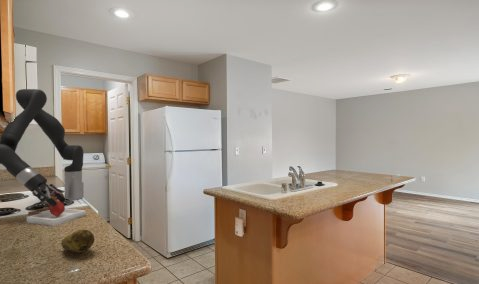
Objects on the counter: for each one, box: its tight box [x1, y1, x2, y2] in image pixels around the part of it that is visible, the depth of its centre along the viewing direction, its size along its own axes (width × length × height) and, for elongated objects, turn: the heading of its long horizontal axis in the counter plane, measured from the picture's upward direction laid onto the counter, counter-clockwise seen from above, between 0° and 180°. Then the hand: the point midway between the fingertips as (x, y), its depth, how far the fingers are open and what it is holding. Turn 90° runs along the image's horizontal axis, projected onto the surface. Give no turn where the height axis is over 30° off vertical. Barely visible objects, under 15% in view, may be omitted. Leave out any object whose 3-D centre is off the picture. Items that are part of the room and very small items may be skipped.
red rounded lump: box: [49, 200, 66, 217], centre depth 121 cm, size 6×6×8 cm
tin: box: [39, 191, 65, 205], centre depth 146 cm, size 15×3×8 cm, turn 73°
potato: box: [60, 229, 95, 254], centre depth 85 cm, size 8×13×8 cm, turn 39°
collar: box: [27, 206, 50, 216], centre depth 132 cm, size 11×11×2 cm
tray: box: [26, 208, 87, 227], centre depth 121 cm, size 16×16×2 cm
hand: (60, 203), depth 122 cm, fingers open, 8 cm apart
